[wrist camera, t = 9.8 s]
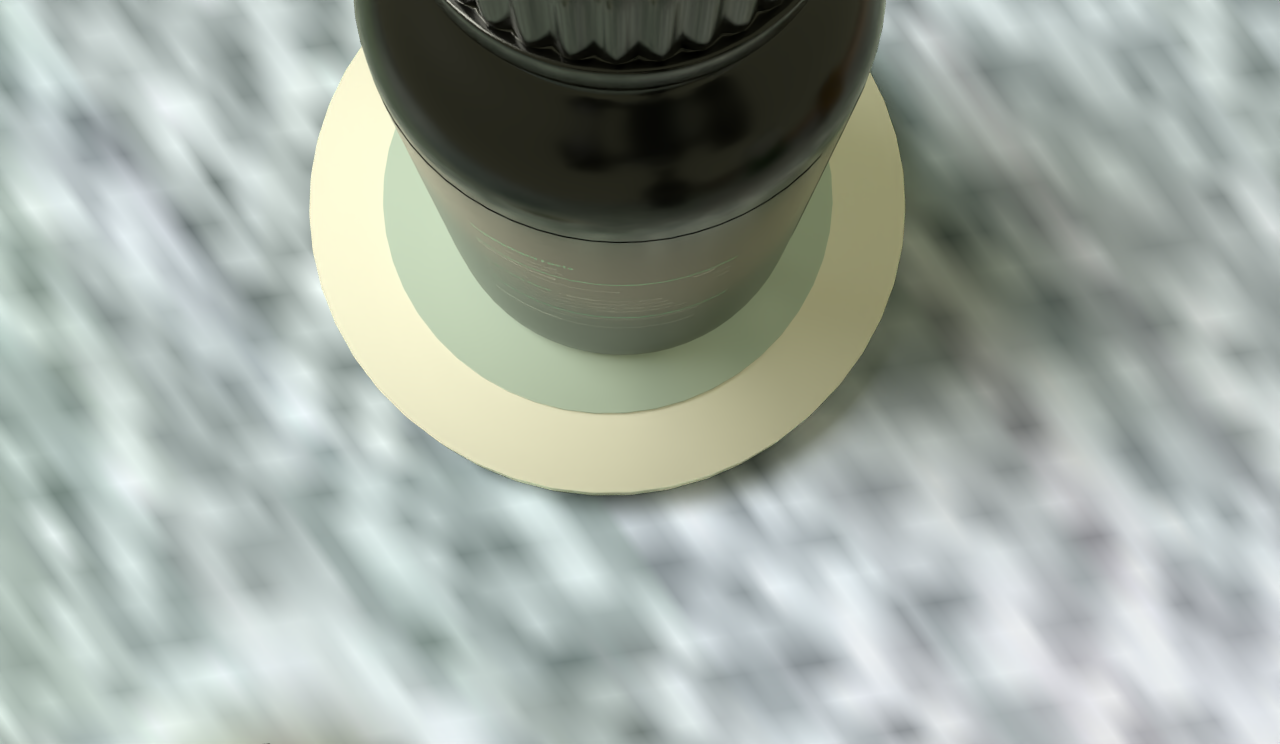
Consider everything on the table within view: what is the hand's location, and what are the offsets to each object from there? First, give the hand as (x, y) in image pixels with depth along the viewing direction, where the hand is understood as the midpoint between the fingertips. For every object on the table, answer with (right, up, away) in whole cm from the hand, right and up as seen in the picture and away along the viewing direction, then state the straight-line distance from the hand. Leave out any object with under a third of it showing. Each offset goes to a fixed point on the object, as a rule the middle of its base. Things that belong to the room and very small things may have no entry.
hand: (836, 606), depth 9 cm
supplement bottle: (-2, +5, +14) cm, 15 cm away
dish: (-2, +5, +15) cm, 16 cm away
